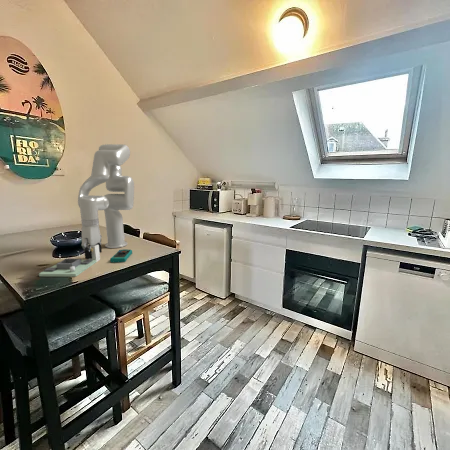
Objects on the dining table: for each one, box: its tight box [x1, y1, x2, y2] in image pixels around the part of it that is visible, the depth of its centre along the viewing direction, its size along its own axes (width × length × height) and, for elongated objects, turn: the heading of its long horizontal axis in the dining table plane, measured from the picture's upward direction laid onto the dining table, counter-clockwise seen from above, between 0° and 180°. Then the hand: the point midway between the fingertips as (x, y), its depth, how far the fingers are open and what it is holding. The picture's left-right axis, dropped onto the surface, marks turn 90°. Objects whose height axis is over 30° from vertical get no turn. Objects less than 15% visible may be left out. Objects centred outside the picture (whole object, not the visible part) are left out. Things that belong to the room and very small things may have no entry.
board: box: [38, 258, 97, 278], centre depth 119 cm, size 18×16×4 cm
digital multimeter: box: [110, 249, 133, 263], centre depth 135 cm, size 7×15×3 cm, turn 5°
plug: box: [88, 245, 101, 263], centre depth 129 cm, size 5×4×8 cm
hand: (93, 255), depth 130 cm, fingers open, 9 cm apart
